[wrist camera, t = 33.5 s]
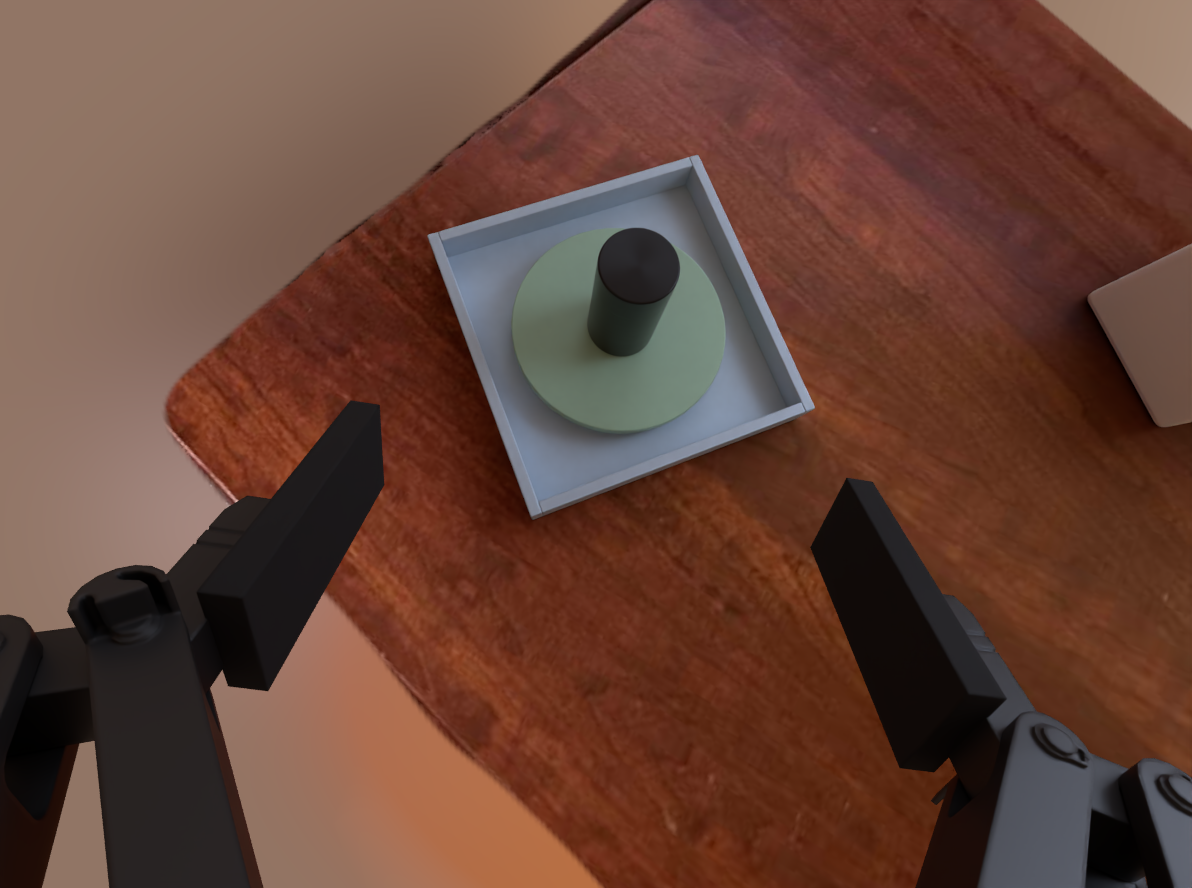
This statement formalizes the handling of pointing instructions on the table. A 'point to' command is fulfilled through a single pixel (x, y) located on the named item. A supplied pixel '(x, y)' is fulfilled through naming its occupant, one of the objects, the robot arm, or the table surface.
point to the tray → (569, 451)
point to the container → (1153, 333)
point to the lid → (618, 330)
